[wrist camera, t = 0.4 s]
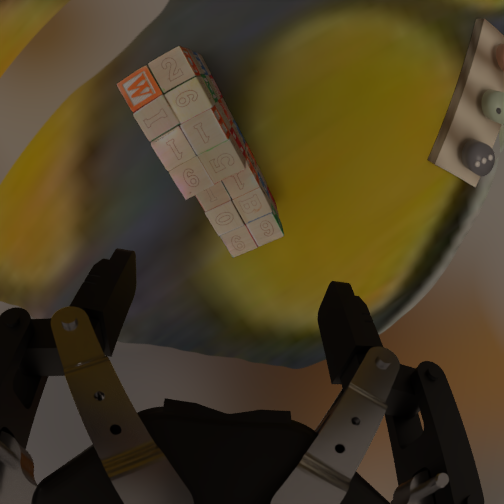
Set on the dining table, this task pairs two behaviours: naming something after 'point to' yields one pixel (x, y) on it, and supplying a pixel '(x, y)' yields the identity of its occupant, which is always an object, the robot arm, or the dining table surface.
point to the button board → (470, 103)
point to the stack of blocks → (203, 147)
